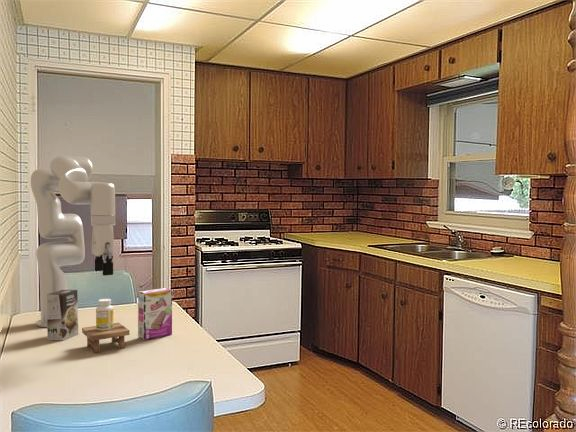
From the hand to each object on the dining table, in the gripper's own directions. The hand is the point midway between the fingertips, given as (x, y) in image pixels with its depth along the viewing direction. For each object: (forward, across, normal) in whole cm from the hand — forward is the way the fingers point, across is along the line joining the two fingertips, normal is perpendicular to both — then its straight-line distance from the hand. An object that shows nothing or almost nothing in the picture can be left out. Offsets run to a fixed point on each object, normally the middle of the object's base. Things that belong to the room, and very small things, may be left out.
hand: (103, 272), depth 171 cm
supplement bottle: (+19, 0, 0) cm, 19 cm away
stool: (+24, +1, 0) cm, 25 cm away
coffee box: (+25, -20, -9) cm, 34 cm away
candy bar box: (+25, -2, +18) cm, 31 cm away
